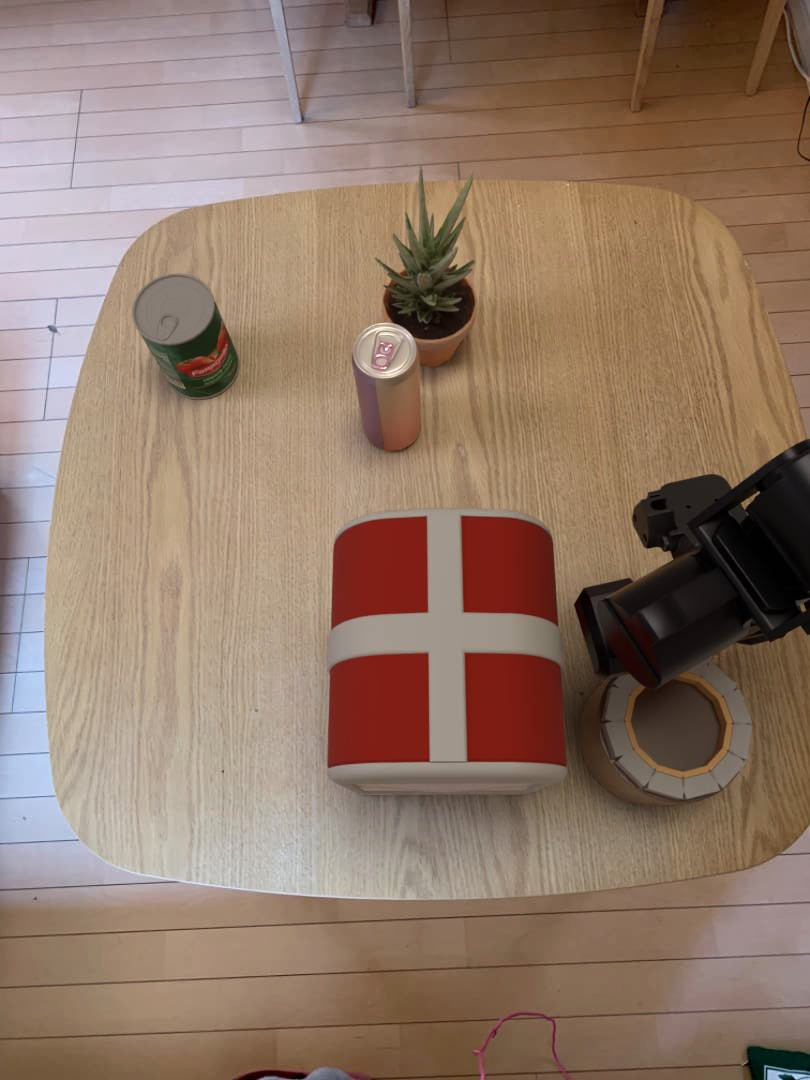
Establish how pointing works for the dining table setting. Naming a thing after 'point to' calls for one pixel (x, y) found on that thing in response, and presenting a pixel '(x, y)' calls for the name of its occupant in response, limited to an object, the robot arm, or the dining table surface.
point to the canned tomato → (186, 335)
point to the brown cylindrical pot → (653, 737)
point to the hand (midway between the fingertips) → (682, 632)
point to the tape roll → (665, 779)
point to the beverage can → (388, 385)
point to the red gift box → (445, 655)
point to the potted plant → (431, 285)
